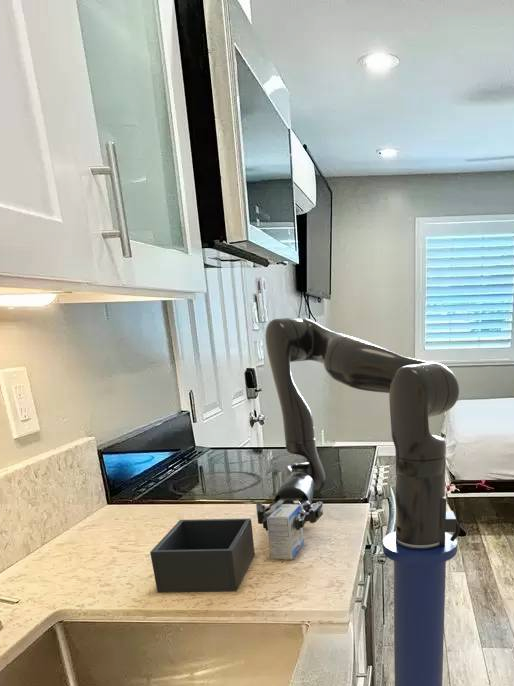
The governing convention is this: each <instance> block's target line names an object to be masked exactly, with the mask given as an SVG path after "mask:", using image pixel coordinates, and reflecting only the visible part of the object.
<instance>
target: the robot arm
mask: <svg viewBox="0 0 514 686" xmlns="http://www.w3.org/2000/svg"><path fill="white" fill-rule="evenodd" d="M264 336H265V347H266V352H267V353H266V354H267V357H268V361H269V366H270V369H271V373H272V378H273V381H274V387H275V389H276V393H277V397H278V400H279V405H280V409H281V415H282V422H283V433H284V441H285V450H286V451H287V453H289V454H292V455H296V456H302V457H304V458H305V459H306V460H307V462H293V463H292V462H291V463H287V464H286V465H284V467H283V468H282V471H281V481H282V483H281V486H279V489H278V491H277V493H276V495H275V496H274V499H273V501H272V502H271V503H270V504H269V505H265V504H263V502H258V503H256V504H255V507H256V516H257V524H259V525H262V528H263V529H265V531H267V532H268V525H267V517H269V516H270V515H271V513H272V512H274V511H275V510H276V509H277V508H278V506H280V505H281V504H295V505H300V506H301V510H300V511H299V513H298V514H297V517H296V519H295V524H296V530H300V528H302V529H303V528H304V527H305V525H306V524H307V522H309V523H310V524H315V523H316V522H317V521H318V520H319V519H320V518H321V517H322V516H323V515H324V505H323V504H324V503H323V502H322V501H317V502H316V503H313V500H314V493H315V492H319V491H321V490H323V488H324V487H325V485H326V481H327V476H326V472H325V469H324V467H323V464H322V461H321V458H320V456H319V452H318V449H317V444H316V436H315V424H314V417H313V414H312V411H311V409H310V407H309V405H308V404H307V402H306V400H305V399H304V397H303V396H302V394H301V393H300V391H299V389H298V388H297V386H296V384H295V382H294V379H293V375H292V371H291V369H292V368H291V363H294V362H295V363H296V362H304V361H305V362H306V361H313V362H316V363H317V362H318V363H321V364H323V368H324V370H325V371H326V373H327V375H328V376H329V377H331V379H332V380H334V381H336V382H339V383H341V384H343V385H345V386H347V387H350V388H353V389H356V390H359V391H367V392H373V393H384V394H388V395H389V396H388V400H389V401H388V402H389V416H390V417H389V418H390V433H391V439H392V442H393V445H394V448H395V449H394V450H395V524H394V530H395V531H396V543H397V545H399V546H400V547H403V548H406V549H410V550H431V549H435V548H438V547H445V532H447V533H453V534H452V537H451V538H450V540H451V541H454V540H455V539H456V540H457V538H458V537H459V535H460V532H461V526H460V524H459V522H458V521H457V517H456V515H455V512H454V510H447V498H446V467H447V466H446V465H447V464H446V462H447V443H446V440H445V439H444V438H443V437H442V436H438V435H434V434H432V432H431V430H430V424H429V422H430V420H429V418H432V417H435V416H440V415H442V414H445V413H446V412H449V411H450V410H451V409H452V408H453V407H454V406H455V405H456V403H457V401H458V400H459V396H460V386H459V382H458V379H457V377H456V376H455V374H454V373H453V371H452V370H451V369H449V368H448V366H445V365H444V364H442V363H439V362H435V361H427V360H421V359H416V358H412V357H406V356H404V355H401V354H399V353H397V352H394V351H392V350H391V349H390V350H389V349H387V348H384V347H381V346H379V345H376V344H373V343H371V342H368V341H367V340H363V339H360V338H357V337H354V336H350V335H347V334H344V333H341V332H336V331H333V330H330V329H328V328H326V327H324V326H322V325H320V324H319V323H317V322H315V321H313V320H312V319H309V318H306V317H288V318H287V317H286V318H275V319H272V320H270V321H268V324H267V326H266V329H265V335H264ZM312 503H313V504H312Z"/></svg>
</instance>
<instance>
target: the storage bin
mask: <svg viewBox="0 0 514 686" xmlns="http://www.w3.org/2000/svg"><path fill="white" fill-rule="evenodd" d="M254 544H255V543H254V533H253V524H252V518H210V519H209V518H207V519H205V518H204V519H203V518H202V519H201V518H200V519H179V520H178V521H177V523H176V524H175V525H174V526H173V527H172V528H171V529H170V530H169V531H167V533H166V534H165V536H163V537H162V539H160V541H159V542H158V543H157V544H156V545H155V546H154V547H153V548H152V549H151V550H150V552H149V554H150V559H151V564H152V570H153V576H154V581H155V586H156V592H157V594H172V593H173V594H174V593H177V594H179V593H180V594H181V593H230V592H231V593H233V592H234V593H236V592H238V590H239V588H240V586H241V584H242V582H243V580H244V578H245V576H246V574H247V572H248V570H249V568H250V565H252V564H251V563H252V562H253V559H254V558H255V556H256V553H255V551H256V550H255V545H254Z"/></svg>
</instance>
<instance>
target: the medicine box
mask: <svg viewBox="0 0 514 686" xmlns="http://www.w3.org/2000/svg"><path fill="white" fill-rule="evenodd" d="M300 510H301V506H300V505H295V504H281V505H280V506H278V508H277V509H276V510H275V511H274V512H272V513H271V515H270V516H269V517H267V525H268V531H267V533H268V544H269V552H270V559H273V560H288V561H289V560H294V558H295V557H296V555H297V554H298V552H299V551H300V550H301V548H302V547H303V546H304V534H303V528H300V530H296V524H295V519H296V517H297V514H298V513H299V511H300Z"/></svg>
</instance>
